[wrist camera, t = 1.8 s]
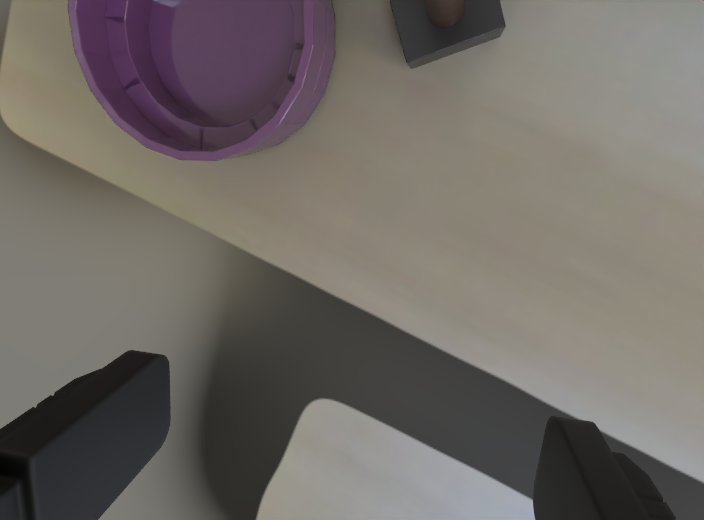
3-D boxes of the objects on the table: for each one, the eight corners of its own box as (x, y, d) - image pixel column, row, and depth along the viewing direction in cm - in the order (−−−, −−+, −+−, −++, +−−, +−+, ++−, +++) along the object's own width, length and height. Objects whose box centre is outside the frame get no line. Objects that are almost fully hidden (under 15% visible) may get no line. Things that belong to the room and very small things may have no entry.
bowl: (292, -135, 31) (255, -192, 25) (366, 114, 34) (348, 114, 28) (95, -32, 35) (27, -61, 29) (178, 179, 38) (131, 190, 33)
